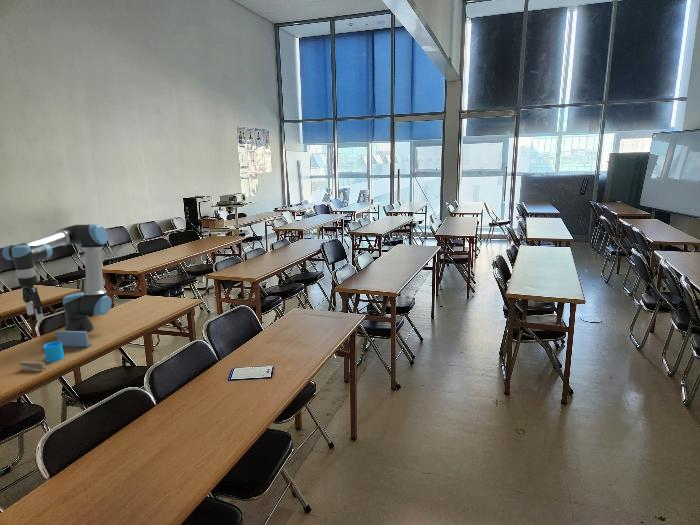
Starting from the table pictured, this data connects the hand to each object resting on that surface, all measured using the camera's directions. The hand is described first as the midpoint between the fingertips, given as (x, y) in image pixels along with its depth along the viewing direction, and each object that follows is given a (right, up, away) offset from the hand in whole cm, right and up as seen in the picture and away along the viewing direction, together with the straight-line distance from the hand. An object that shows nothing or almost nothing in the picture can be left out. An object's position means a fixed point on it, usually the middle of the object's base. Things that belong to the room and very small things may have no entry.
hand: (35, 317), depth 226 cm
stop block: (+1, -26, -2) cm, 26 cm away
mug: (+3, -23, +12) cm, 26 cm away
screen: (+4, -20, +25) cm, 32 cm away
